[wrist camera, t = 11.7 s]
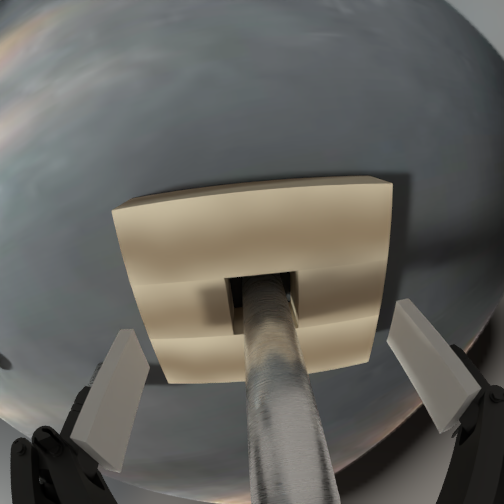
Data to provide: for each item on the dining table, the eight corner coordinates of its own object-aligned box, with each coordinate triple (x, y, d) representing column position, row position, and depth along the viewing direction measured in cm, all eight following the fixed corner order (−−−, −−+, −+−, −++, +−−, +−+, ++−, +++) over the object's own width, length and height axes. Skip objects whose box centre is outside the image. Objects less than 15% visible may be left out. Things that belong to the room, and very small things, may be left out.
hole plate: (131, 198, 16) (111, 210, 13) (369, 175, 16) (392, 183, 13) (175, 356, 21) (168, 383, 18) (355, 337, 21) (368, 361, 18)
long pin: (240, 266, 18) (249, 556, 3) (280, 262, 18) (359, 539, 3) (244, 300, 19) (258, 556, 4) (281, 296, 19) (340, 544, 4)
